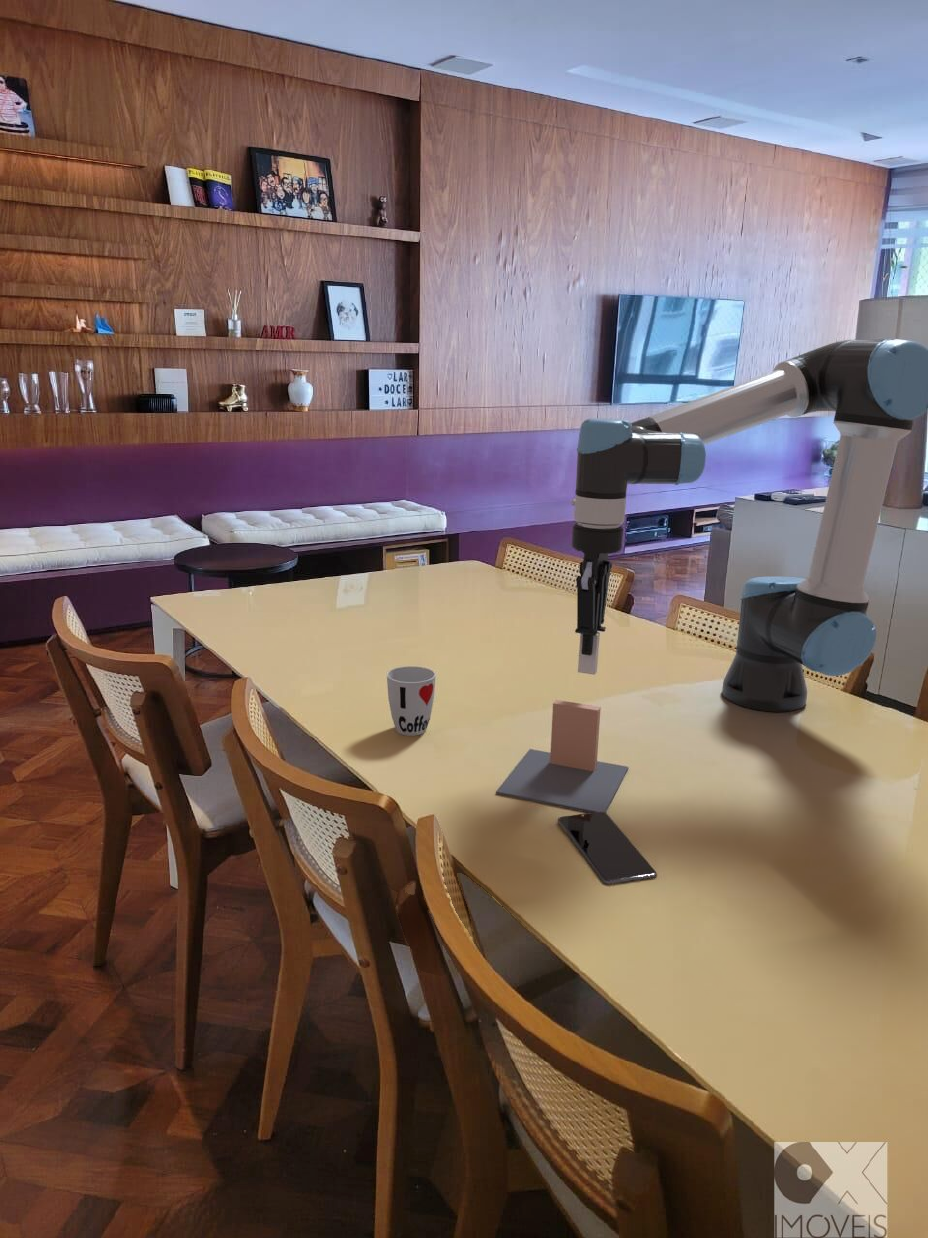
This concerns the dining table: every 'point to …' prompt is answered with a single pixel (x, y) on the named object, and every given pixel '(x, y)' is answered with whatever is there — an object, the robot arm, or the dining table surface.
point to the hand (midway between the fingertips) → (587, 672)
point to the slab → (575, 735)
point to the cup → (411, 698)
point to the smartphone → (606, 848)
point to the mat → (563, 783)
